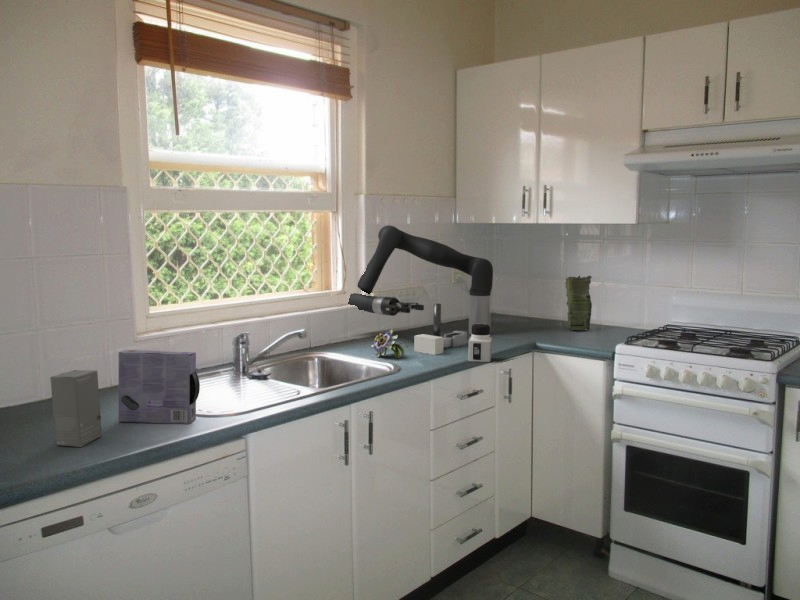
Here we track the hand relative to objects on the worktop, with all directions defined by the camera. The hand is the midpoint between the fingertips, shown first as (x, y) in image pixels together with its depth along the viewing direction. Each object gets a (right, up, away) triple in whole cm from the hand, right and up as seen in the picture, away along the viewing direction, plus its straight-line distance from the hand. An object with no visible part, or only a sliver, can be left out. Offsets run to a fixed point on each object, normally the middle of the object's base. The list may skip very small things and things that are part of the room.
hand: (416, 308), depth 263 cm
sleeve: (+16, -15, +3) cm, 22 cm away
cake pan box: (-66, -27, -97) cm, 120 cm away
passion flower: (-11, -17, -19) cm, 28 cm away
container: (+22, -18, -23) cm, 37 cm away
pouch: (+75, -10, +42) cm, 86 cm away
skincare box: (-79, -29, -112) cm, 140 cm away
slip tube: (+9, -16, -5) cm, 19 cm away
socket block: (+4, -16, -10) cm, 20 cm away
